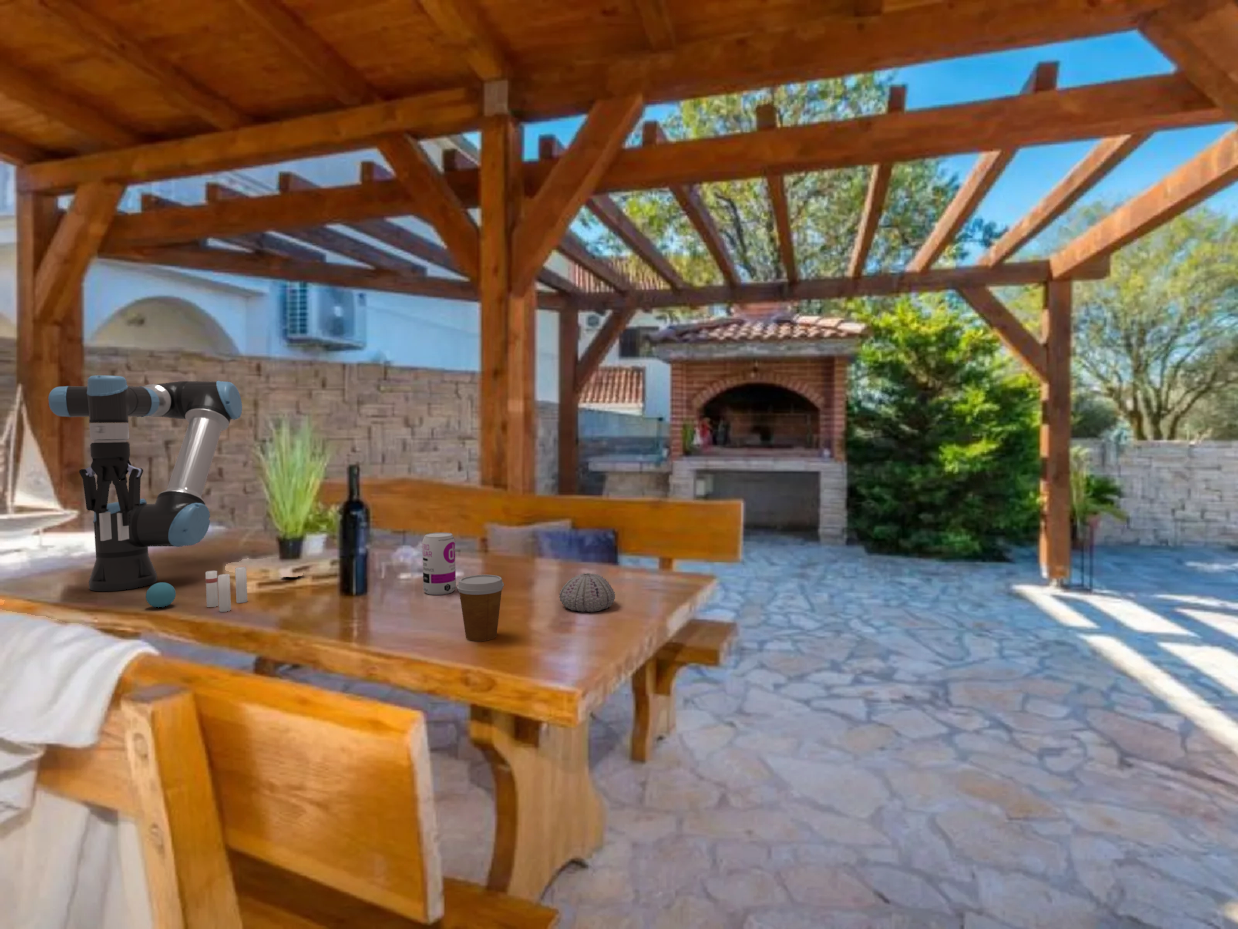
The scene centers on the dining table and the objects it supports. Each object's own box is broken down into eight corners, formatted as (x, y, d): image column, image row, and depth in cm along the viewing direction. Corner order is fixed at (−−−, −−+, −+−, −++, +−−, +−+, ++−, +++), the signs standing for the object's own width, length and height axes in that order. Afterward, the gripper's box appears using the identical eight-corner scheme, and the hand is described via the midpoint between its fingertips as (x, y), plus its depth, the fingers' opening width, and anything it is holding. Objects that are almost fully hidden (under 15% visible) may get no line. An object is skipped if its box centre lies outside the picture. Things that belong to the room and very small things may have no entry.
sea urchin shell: (622, 602, 170) (621, 569, 170) (606, 617, 157) (606, 582, 157) (571, 598, 174) (570, 566, 174) (551, 612, 161) (551, 578, 161)
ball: (146, 606, 167) (145, 581, 167) (176, 602, 171) (175, 578, 170) (145, 612, 162) (144, 586, 162) (176, 608, 166) (175, 583, 165)
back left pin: (236, 601, 172) (234, 567, 171) (247, 600, 173) (245, 566, 172) (236, 603, 170) (235, 569, 169) (247, 602, 171) (246, 568, 170)
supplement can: (461, 589, 183) (460, 533, 182) (444, 596, 176) (443, 538, 175) (435, 586, 186) (434, 531, 185) (416, 594, 178) (415, 536, 177)
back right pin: (219, 610, 164) (217, 574, 163) (230, 608, 165) (229, 573, 164) (219, 612, 162) (218, 576, 161) (231, 611, 163) (229, 575, 162)
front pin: (206, 606, 167) (204, 571, 167) (218, 604, 169) (216, 570, 168) (206, 608, 165) (205, 573, 165) (218, 606, 167) (217, 572, 166)
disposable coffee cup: (461, 630, 147) (460, 574, 146) (506, 629, 148) (505, 573, 147) (454, 644, 138) (453, 585, 137) (502, 643, 139) (501, 584, 138)
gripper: (62, 442, 159) (67, 542, 161) (135, 441, 160) (140, 542, 162) (85, 441, 167) (90, 537, 168) (155, 440, 168) (160, 536, 169)
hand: (114, 539), depth 165 cm, fingers open, 3 cm apart
